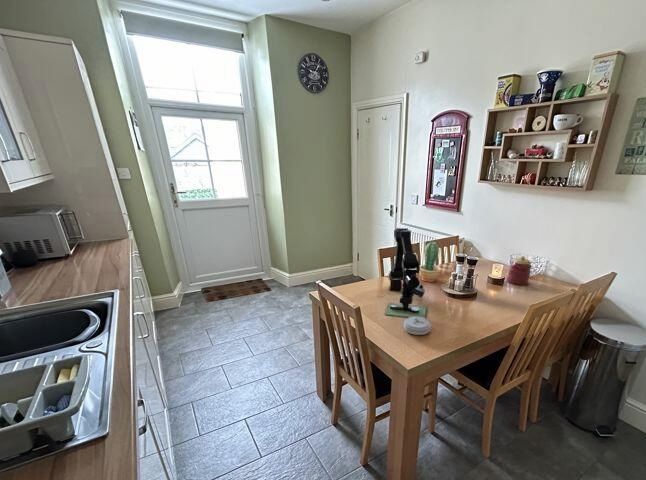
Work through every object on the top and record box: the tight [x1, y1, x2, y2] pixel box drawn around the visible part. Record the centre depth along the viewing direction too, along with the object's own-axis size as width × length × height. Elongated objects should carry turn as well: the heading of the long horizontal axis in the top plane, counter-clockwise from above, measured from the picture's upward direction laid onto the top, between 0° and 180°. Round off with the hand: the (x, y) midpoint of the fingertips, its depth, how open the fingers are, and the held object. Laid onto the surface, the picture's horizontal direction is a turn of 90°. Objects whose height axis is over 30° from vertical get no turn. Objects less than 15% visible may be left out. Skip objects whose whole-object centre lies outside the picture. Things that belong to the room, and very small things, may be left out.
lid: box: [403, 316, 432, 336], centre depth 153 cm, size 13×13×5 cm
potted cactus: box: [419, 241, 442, 283], centre depth 213 cm, size 15×15×25 cm
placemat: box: [385, 302, 427, 319], centre depth 173 cm, size 20×14×1 cm
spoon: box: [390, 306, 420, 313], centre depth 172 cm, size 16×5×2 cm, turn 78°
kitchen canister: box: [506, 255, 533, 286], centre depth 214 cm, size 13×13×18 cm
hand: (406, 309), depth 172 cm, fingers open, 5 cm apart
